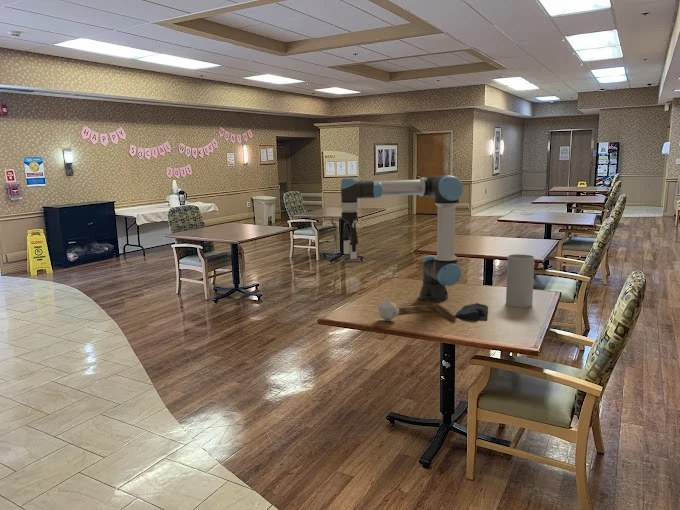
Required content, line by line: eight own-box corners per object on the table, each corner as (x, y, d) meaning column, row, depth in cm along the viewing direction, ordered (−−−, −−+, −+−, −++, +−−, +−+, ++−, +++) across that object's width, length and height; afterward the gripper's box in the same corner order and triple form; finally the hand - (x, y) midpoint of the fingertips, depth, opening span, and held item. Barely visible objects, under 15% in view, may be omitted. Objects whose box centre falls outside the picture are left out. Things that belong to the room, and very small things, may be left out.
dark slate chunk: (492, 310, 254) (493, 301, 253) (486, 323, 234) (486, 313, 233) (461, 307, 260) (461, 298, 259) (452, 320, 240) (452, 310, 240)
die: (396, 324, 234) (397, 302, 232) (377, 323, 236) (377, 302, 234) (398, 318, 242) (398, 298, 241) (379, 318, 244) (379, 297, 242)
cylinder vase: (513, 309, 254) (515, 259, 249) (501, 303, 266) (503, 254, 261) (537, 308, 255) (539, 258, 251) (524, 301, 268) (526, 253, 263)
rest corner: (437, 309, 255) (437, 304, 255) (455, 321, 236) (455, 315, 236) (398, 313, 251) (398, 307, 250) (414, 325, 232) (414, 319, 231)
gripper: (335, 209, 254) (336, 252, 258) (347, 214, 230) (348, 261, 234) (350, 209, 256) (351, 251, 260) (364, 213, 232) (364, 260, 236)
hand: (350, 256), depth 247 cm, fingers open, 13 cm apart
